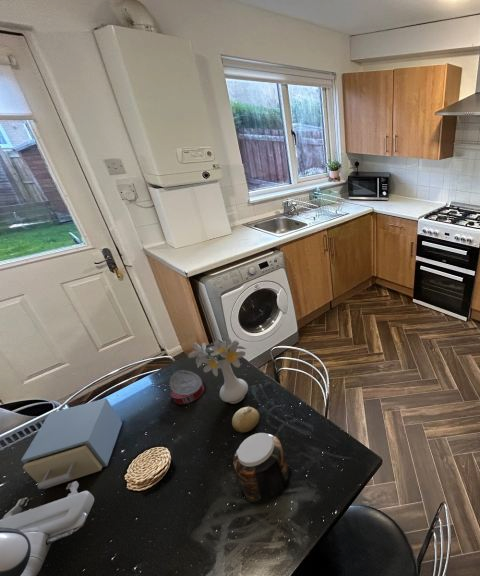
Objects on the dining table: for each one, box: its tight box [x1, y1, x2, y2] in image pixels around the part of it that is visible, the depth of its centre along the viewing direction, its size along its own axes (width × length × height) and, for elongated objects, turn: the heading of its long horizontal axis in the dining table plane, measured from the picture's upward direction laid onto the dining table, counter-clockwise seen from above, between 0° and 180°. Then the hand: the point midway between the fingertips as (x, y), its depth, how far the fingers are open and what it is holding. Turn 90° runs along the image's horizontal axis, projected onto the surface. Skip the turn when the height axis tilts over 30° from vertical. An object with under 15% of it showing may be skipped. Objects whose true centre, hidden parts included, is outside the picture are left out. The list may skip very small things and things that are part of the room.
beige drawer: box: [22, 444, 103, 490], centre depth 87 cm, size 19×13×10 cm, turn 24°
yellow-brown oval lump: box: [231, 404, 260, 433], centre depth 99 cm, size 8×8×7 cm
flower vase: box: [187, 335, 249, 405], centre depth 105 cm, size 13×18×25 cm
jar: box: [232, 432, 290, 504], centre depth 82 cm, size 12×12×15 cm
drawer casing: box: [20, 397, 123, 469], centre depth 91 cm, size 16×14×12 cm
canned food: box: [168, 369, 205, 405], centre depth 112 cm, size 11×10×10 cm
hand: (50, 491), depth 77 cm, fingers open, 8 cm apart
